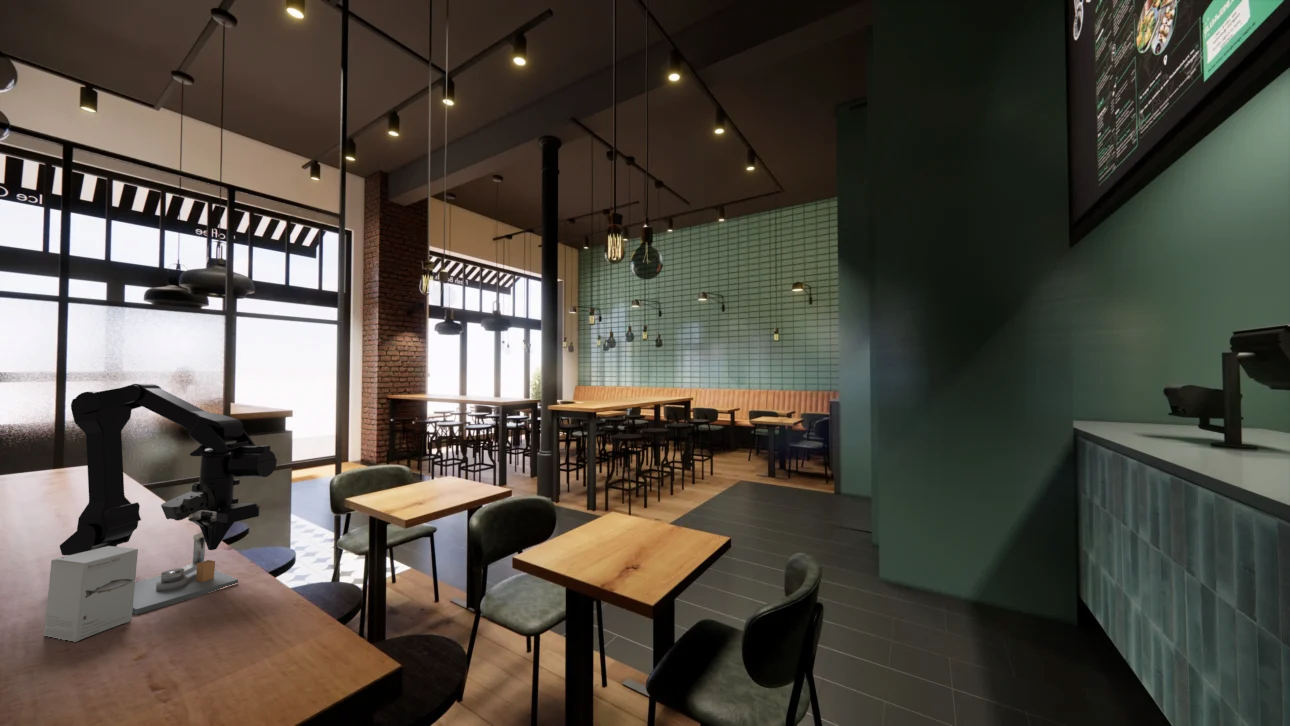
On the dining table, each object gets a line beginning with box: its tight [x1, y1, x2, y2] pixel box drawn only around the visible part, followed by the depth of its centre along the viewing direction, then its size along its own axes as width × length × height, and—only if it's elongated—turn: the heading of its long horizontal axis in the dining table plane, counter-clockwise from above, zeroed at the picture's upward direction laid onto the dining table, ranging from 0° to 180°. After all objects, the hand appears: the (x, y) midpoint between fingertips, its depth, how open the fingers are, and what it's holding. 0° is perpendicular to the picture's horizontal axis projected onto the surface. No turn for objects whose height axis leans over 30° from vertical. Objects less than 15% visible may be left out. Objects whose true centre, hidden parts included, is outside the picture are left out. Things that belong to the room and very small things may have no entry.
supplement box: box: [43, 546, 139, 643], centre depth 79 cm, size 7×7×13 cm
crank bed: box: [132, 559, 239, 616], centre depth 94 cm, size 16×15×4 cm
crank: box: [160, 531, 206, 583], centre depth 97 cm, size 10×3×7 cm, turn 12°
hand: (212, 549), depth 100 cm, fingers closed
